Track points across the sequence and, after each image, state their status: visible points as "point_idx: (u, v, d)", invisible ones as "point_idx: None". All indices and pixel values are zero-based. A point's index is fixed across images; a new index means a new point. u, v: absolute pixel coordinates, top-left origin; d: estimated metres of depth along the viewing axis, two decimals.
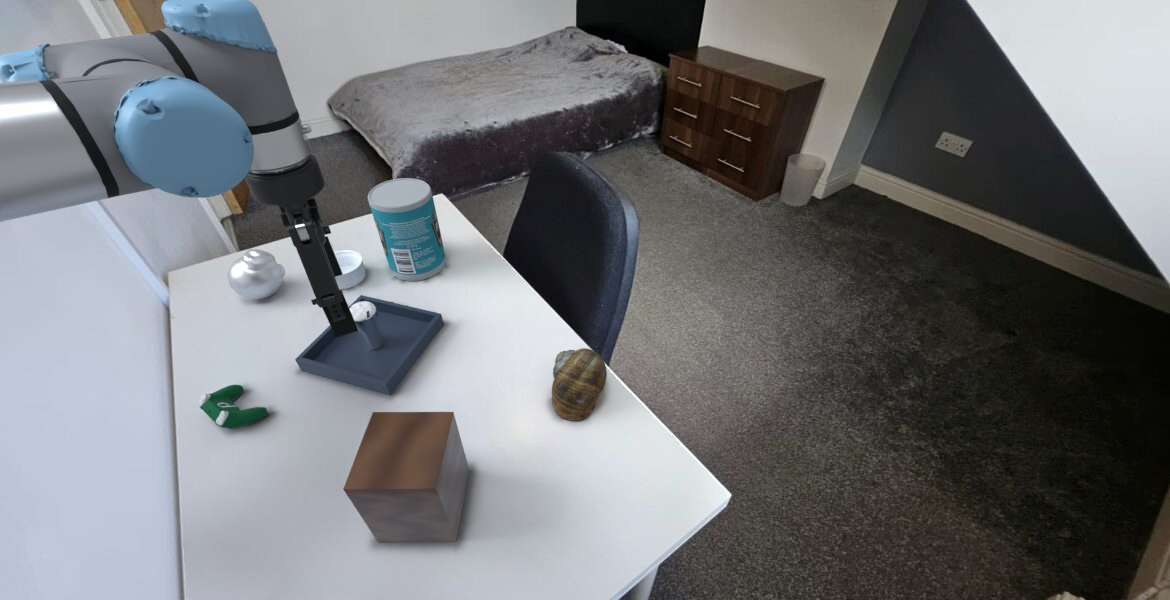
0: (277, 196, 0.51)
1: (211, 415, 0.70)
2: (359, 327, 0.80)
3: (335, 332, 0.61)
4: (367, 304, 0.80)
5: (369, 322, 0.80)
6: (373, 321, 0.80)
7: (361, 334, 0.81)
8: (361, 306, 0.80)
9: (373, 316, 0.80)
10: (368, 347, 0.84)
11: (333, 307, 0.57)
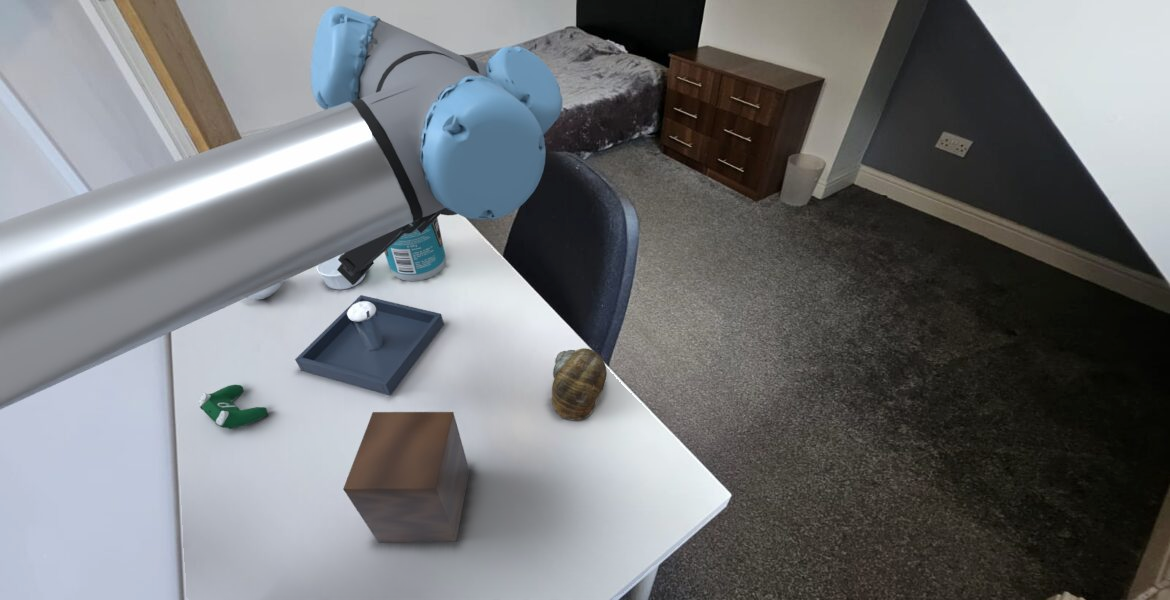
0: None
1: (211, 415, 0.70)
2: (359, 327, 0.80)
3: (339, 268, 0.60)
4: (367, 304, 0.80)
5: (369, 322, 0.80)
6: (373, 321, 0.80)
7: (361, 334, 0.81)
8: (360, 306, 0.80)
9: (373, 316, 0.80)
10: (368, 347, 0.84)
11: None
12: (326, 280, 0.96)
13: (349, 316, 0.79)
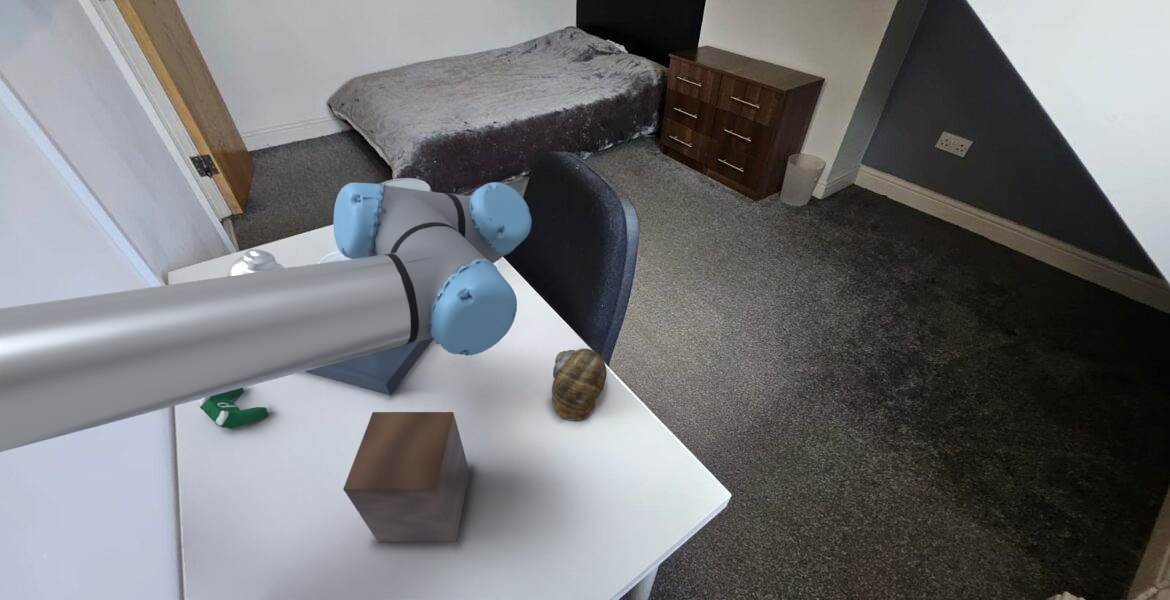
0: None
1: (211, 415, 0.70)
2: None
3: None
4: None
5: None
6: None
7: None
8: None
9: None
10: None
11: None
12: None
13: None
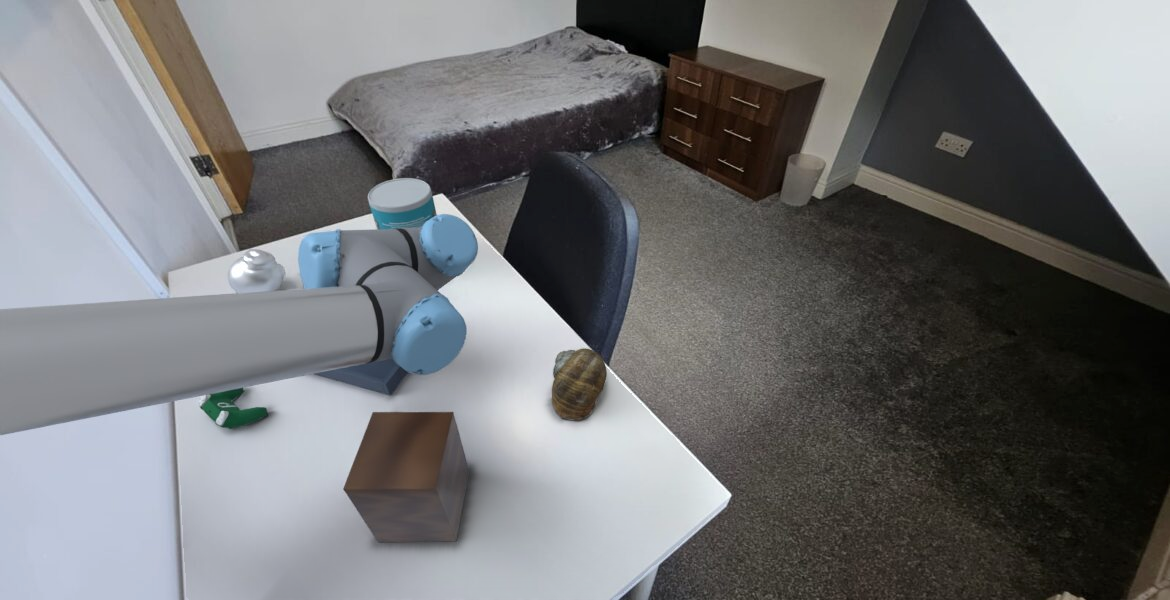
0: None
1: (211, 415, 0.70)
2: None
3: None
4: None
5: None
6: None
7: None
8: None
9: None
10: None
11: None
12: None
13: None
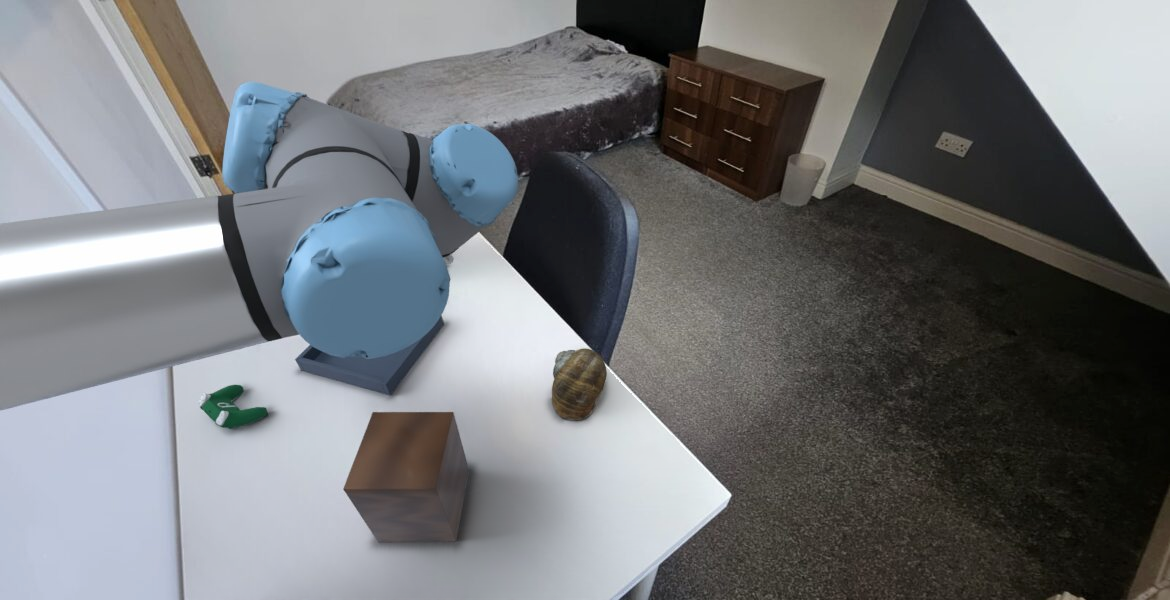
0: None
1: (211, 415, 0.70)
2: None
3: None
4: None
5: None
6: None
7: None
8: None
9: None
10: None
11: None
12: None
13: None
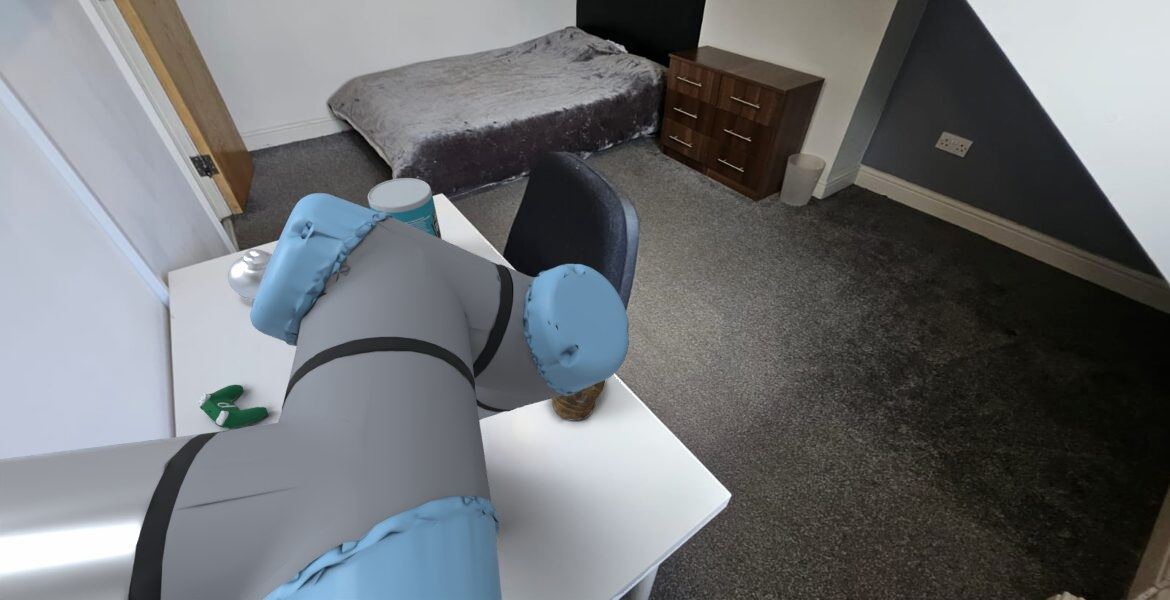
0: None
1: (211, 415, 0.70)
2: None
3: None
4: None
5: None
6: None
7: None
8: None
9: None
10: None
11: None
12: None
13: None
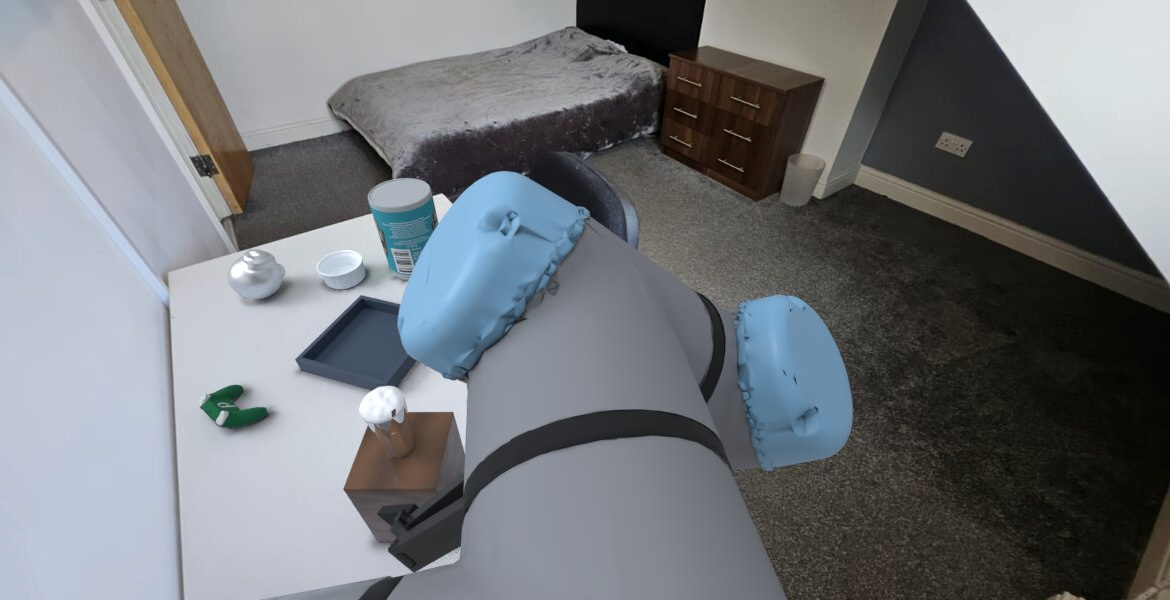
0: None
1: (211, 415, 0.70)
2: (379, 430, 0.49)
3: (381, 515, 0.39)
4: (391, 393, 0.50)
5: (395, 422, 0.49)
6: (401, 419, 0.50)
7: (381, 439, 0.51)
8: (381, 396, 0.49)
9: (401, 412, 0.49)
10: (391, 454, 0.53)
11: None
12: (326, 280, 0.96)
13: (363, 415, 0.48)
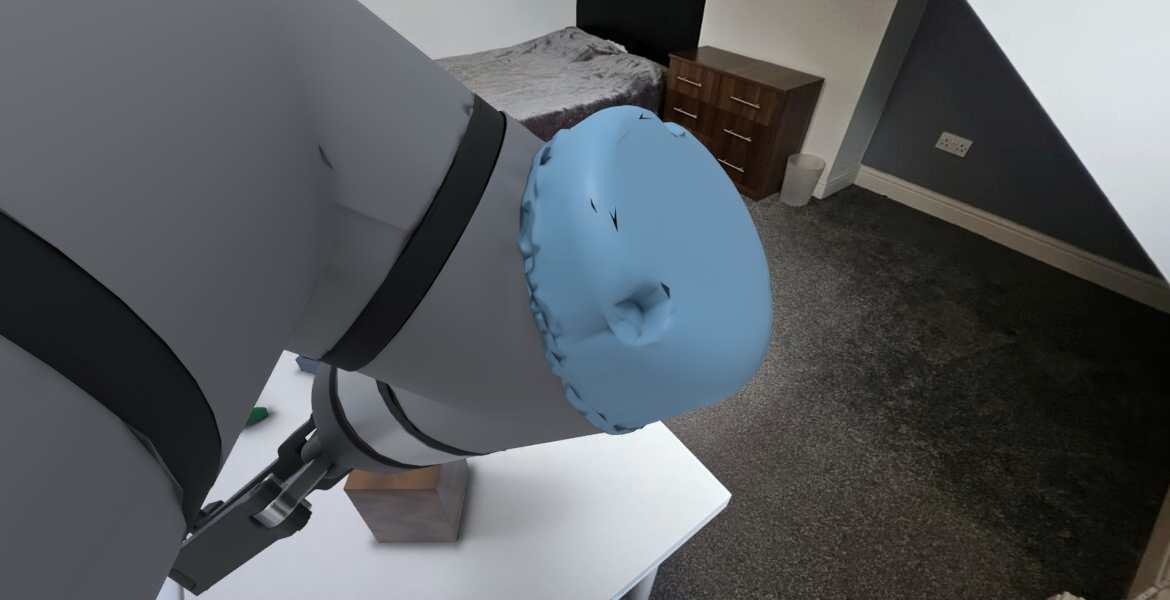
0: (326, 432, 0.20)
1: None
2: None
3: None
4: None
5: None
6: None
7: None
8: None
9: None
10: None
11: None
12: None
13: None
